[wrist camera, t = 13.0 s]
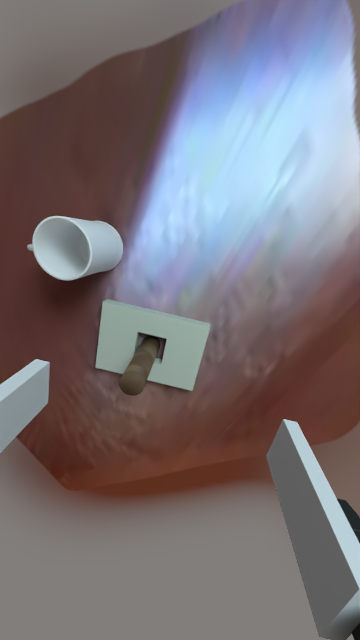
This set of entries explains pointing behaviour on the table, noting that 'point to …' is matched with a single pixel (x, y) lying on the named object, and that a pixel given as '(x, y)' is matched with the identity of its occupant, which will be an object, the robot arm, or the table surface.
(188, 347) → the socket board
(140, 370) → the peg
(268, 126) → the table surface
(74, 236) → the mug
